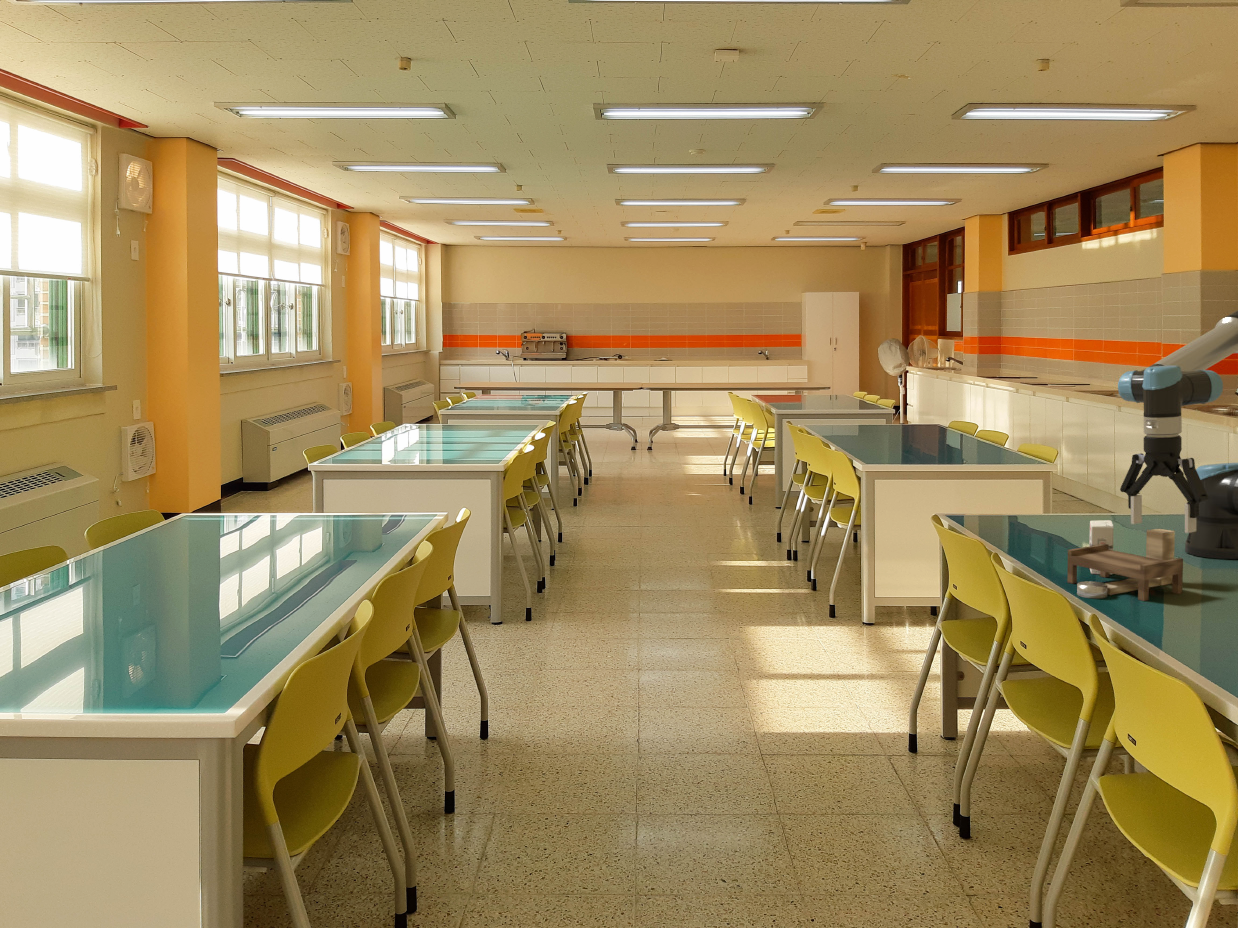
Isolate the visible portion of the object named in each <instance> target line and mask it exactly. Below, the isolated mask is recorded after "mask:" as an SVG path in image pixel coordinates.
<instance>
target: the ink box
mask: <svg viewBox="0 0 1238 928" xmlns="http://www.w3.org/2000/svg"><path fill="white" fill-rule="evenodd" d="M1088 542H1089V543H1088V544H1089V545H1088V547H1089V546H1095V545H1101V544H1108V545H1109V548H1108V550H1113V551H1114V524H1113V522H1112V520H1108V519H1107V520H1106V519H1105V520H1090V521H1089V541H1088ZM1089 570H1090V574H1091V575H1100V571H1099V570H1095V569H1090V568H1089ZM1110 575H1111V576H1112V575H1113V573H1110Z"/></svg>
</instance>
